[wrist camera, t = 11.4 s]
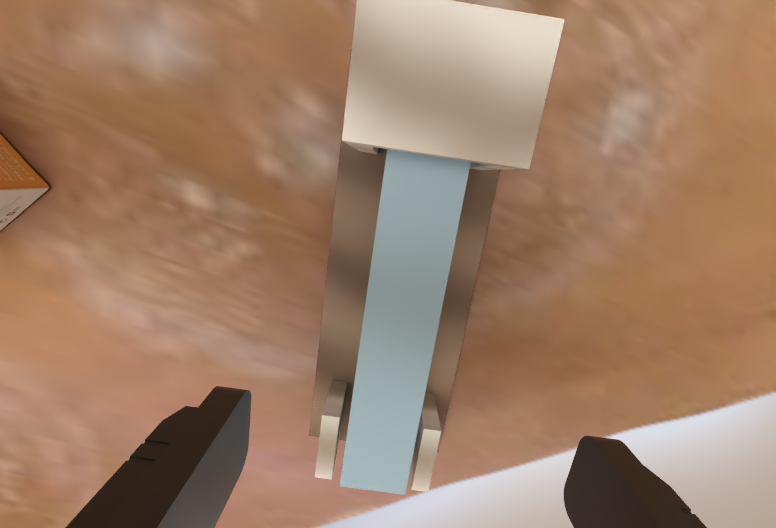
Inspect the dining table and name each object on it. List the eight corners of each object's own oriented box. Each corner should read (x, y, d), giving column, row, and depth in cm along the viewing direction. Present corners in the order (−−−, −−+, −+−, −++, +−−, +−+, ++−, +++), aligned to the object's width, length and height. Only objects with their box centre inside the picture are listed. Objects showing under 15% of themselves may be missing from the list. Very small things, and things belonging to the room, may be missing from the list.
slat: (394, 111, 20) (395, 91, 15) (459, 121, 20) (482, 105, 15) (350, 424, 24) (339, 486, 20) (402, 431, 25) (404, 494, 20)
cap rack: (354, 58, 20) (325, -28, 12) (511, 83, 20) (599, 17, 12) (313, 420, 26) (274, 545, 17) (435, 437, 26) (457, 568, 18)
